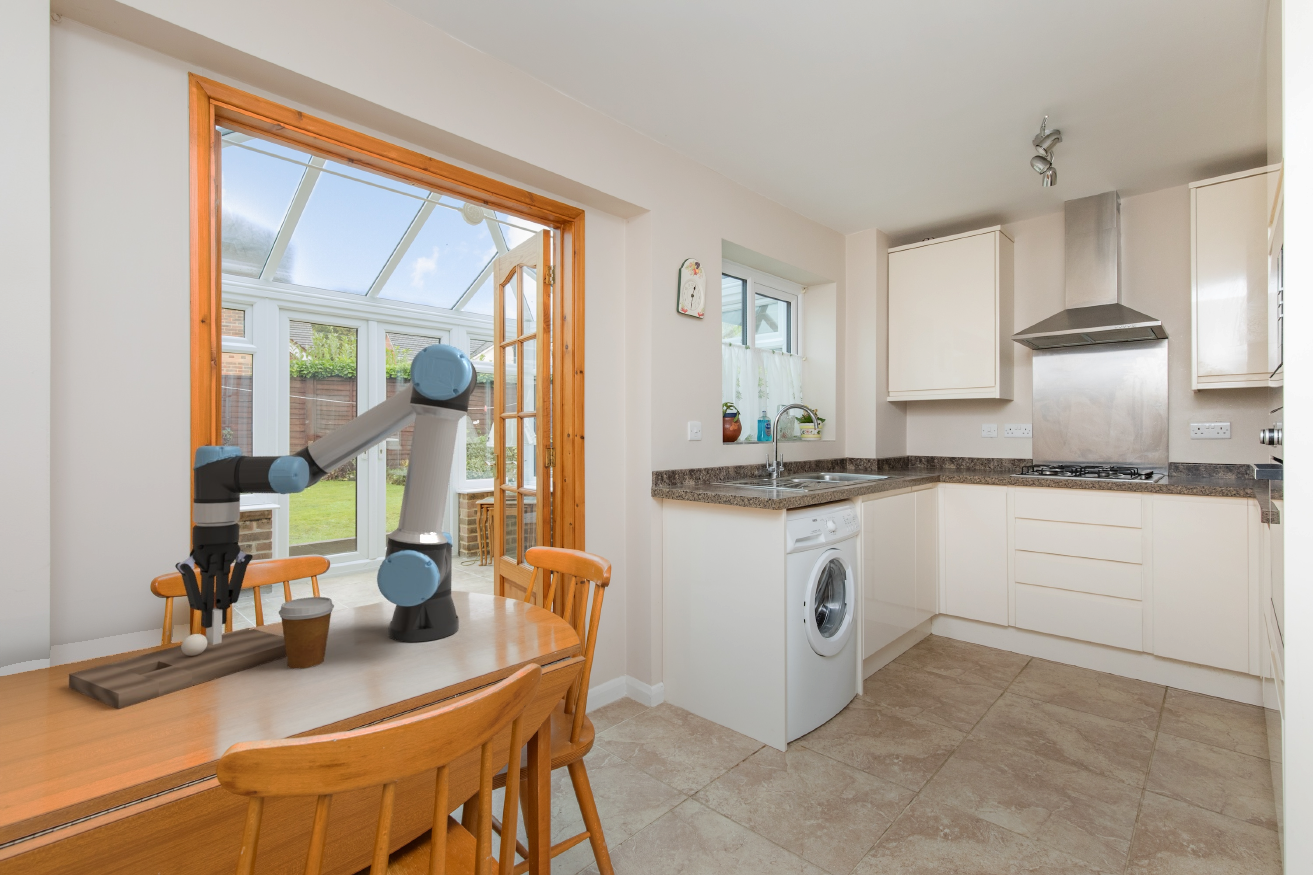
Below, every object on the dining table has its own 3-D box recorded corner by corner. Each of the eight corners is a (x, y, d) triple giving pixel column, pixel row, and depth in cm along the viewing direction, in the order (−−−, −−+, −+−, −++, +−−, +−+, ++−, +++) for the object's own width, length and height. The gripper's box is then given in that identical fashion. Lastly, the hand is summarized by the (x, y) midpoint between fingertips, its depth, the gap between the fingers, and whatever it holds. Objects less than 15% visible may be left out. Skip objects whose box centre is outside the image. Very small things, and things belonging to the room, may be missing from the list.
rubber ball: (191, 634, 114) (183, 657, 112) (214, 636, 117) (206, 657, 116) (182, 631, 116) (174, 653, 115) (205, 632, 119) (197, 654, 118)
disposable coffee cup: (308, 673, 113) (309, 610, 113) (265, 669, 115) (266, 607, 115) (344, 656, 123) (345, 597, 123) (304, 652, 124) (304, 595, 125)
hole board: (298, 652, 125) (299, 640, 125) (118, 708, 98) (118, 693, 98) (248, 639, 133) (248, 627, 133) (68, 687, 106) (69, 673, 106)
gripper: (241, 518, 127) (238, 630, 126) (168, 525, 115) (164, 648, 115) (261, 521, 123) (259, 636, 123) (188, 528, 111) (185, 655, 111)
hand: (213, 642), depth 119 cm, fingers closed
